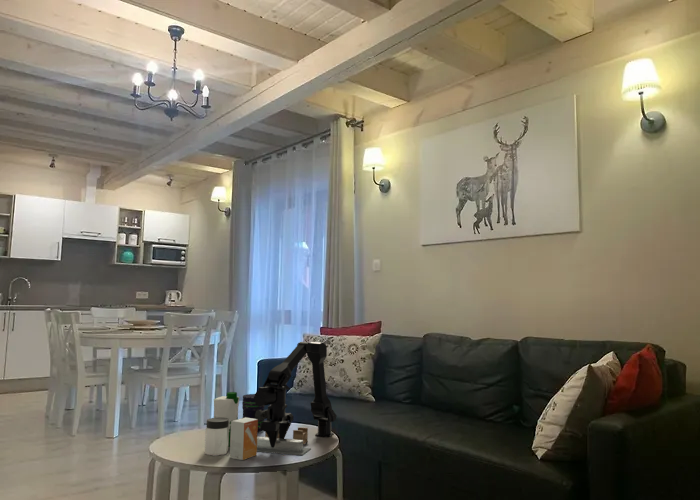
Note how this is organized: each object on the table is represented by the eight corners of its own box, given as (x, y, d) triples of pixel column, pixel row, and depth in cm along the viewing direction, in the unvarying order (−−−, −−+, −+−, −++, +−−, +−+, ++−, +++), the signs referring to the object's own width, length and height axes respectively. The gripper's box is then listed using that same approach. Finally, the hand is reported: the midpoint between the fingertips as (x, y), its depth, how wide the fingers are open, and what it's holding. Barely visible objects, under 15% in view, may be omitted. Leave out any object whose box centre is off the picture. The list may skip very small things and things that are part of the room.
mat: (253, 444, 209) (253, 443, 209) (310, 449, 202) (310, 448, 202) (242, 450, 200) (242, 449, 200) (302, 455, 194) (302, 454, 194)
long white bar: (254, 445, 206) (255, 436, 206) (303, 449, 200) (303, 440, 201) (250, 447, 202) (251, 438, 203) (299, 452, 197) (299, 442, 197)
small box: (242, 460, 187) (244, 422, 188) (229, 458, 190) (230, 420, 191) (257, 455, 194) (258, 418, 195) (243, 452, 197) (244, 417, 198)
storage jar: (248, 427, 239) (249, 393, 241) (268, 428, 236) (268, 394, 238) (237, 431, 230) (238, 396, 232) (256, 433, 227) (257, 398, 228)
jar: (208, 457, 191) (209, 422, 192) (201, 451, 198) (202, 418, 199) (232, 453, 196) (233, 420, 197) (224, 448, 203) (225, 416, 204)
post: (298, 441, 215) (298, 427, 215) (307, 441, 214) (307, 427, 214) (292, 444, 209) (293, 430, 210) (302, 445, 208) (302, 431, 209)
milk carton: (231, 447, 204) (232, 394, 206) (209, 446, 206) (211, 393, 208) (240, 442, 212) (241, 391, 215) (219, 440, 214) (221, 390, 217)
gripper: (268, 397, 214) (267, 437, 212) (248, 405, 196) (246, 449, 195) (294, 399, 211) (293, 439, 210) (275, 407, 193) (274, 451, 192)
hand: (277, 444), depth 201 cm, fingers open, 8 cm apart
